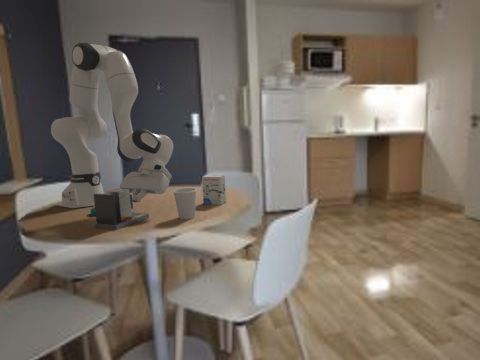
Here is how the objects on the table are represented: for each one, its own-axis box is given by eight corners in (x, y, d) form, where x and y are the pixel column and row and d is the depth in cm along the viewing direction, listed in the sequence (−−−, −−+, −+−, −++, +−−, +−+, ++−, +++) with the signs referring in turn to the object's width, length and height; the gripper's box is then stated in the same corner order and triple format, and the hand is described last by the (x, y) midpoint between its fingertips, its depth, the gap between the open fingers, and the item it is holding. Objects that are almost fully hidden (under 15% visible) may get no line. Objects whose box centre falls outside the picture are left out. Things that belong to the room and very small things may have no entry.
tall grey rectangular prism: (108, 219, 126) (105, 191, 124) (122, 215, 132) (119, 188, 130) (127, 221, 122) (124, 192, 120) (140, 216, 128) (138, 188, 126)
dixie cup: (201, 214, 133) (199, 187, 132) (194, 220, 125) (192, 191, 123) (179, 214, 135) (177, 188, 133) (171, 220, 126) (169, 192, 125)
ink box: (202, 204, 150) (200, 176, 149) (208, 201, 155) (206, 174, 153) (221, 205, 147) (219, 176, 145) (226, 202, 152) (225, 174, 150)
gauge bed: (94, 227, 123) (90, 194, 121) (128, 215, 137) (125, 186, 135) (116, 229, 118) (112, 195, 117) (149, 217, 133) (146, 186, 131)
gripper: (125, 166, 143) (109, 195, 136) (167, 166, 134) (152, 197, 126) (134, 175, 147) (119, 204, 140) (175, 176, 138) (161, 207, 131)
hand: (135, 201), depth 133 cm, fingers closed
